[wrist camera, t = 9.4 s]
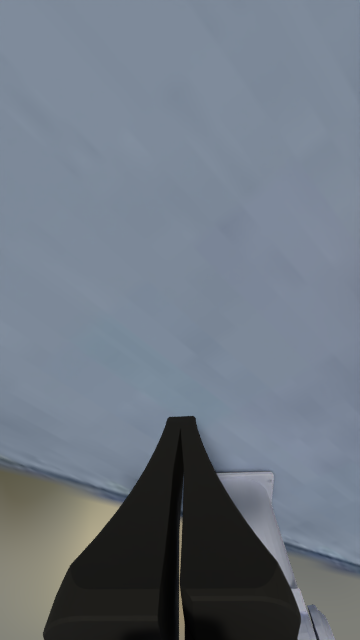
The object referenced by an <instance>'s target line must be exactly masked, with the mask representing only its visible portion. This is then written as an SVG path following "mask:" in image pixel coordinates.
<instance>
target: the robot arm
mask: <svg viewBox="0 0 360 640" xmlns="http://www.w3.org/2000/svg"><path fill="white" fill-rule="evenodd" d="M183 475H184V495H183V525H182V548H181V569H180V589H181V598H182V605H183V614H184V621H185V640H335V638H334V635H333V633H332V630H331V628H330V625H329V623H328V621H327V619H326V617H325V615H324V614H322V613H321V612H320V611H319V610H317V608H316V606H315V605H313V604H312V605H308V610H309V614H310V617H311V620H312V624H313V627H312V624H311V621H310V618H309V615H308V612H307V609H306V606H305V603H304V600H303V597H302V593H301V590H300V589H299V588H298V586H297V583H296V580H295V577H294V574H293V570H292V568H291V564H290V561H289V558H288V555H287V552H286V549H285V545H284V542H283V539H282V536H281V533H280V530H279V527H278V523H277V520H276V517H275V514H274V511H273V508H272V505H271V504H272V493H273V483H274V475H273V473H272V472H235V473H216V472H215V470H214V468H213V466H212V464H211V462H210V460H209V457H208V455H207V453H206V450H205V448H204V446H203V443H202V441H201V438H200V435H199V432H198V429H197V425H196V418H195V417H194V416H183V417H169V418H168V419H167V422H166V425H165V428H164V431H163V433H162V436H161V438H160V441H159V443H158V445H157V447H156V449H155V451H154V453H153V455H152V457H151V459H150V461H149V463H148V464H147V466H146V468H145V470H144V472H143V473H142V475H141V477H140V478H139V480H138V482H137V483H136V485H135V486H134V488H133V489H132V491H131V492H130V494H129V495H128V497H127V498H126V499H125V501H124V502H123V504H122V505H121V506H120V508H119V509H118V510H117V512H116V513H115V514H114V516H113V517H112V518H111V519H110V521H109V522H108V523H107V524H106V525H105V527H104V528H103V529H102V531H101V532H100V533H99V534H98V535H97V536H96V538H95V539H94V540H93V541H92V542H91V543H90V544H89V545H88V547H87V548H86V549H85V550H84V551H83V552H82V553H81V554H80V555H79V556H78V558H76V560H75V561H74V562H73V563H72V564H71V565H70V568H69V569H68V571H67V573H66V575H65V577H64V579H63V581H62V584H61V586H60V588H59V591H58V593H57V595H56V597H55V600H54V603H53V606H52V609H51V611H50V614H49V617H48V620H47V623H46V626H45V628H44V632H43V637H44V640H179V527H180V512H181V500H182V488H183ZM313 629H314V630H313ZM314 632H315V633H314ZM315 635H316V636H315Z"/></svg>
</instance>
